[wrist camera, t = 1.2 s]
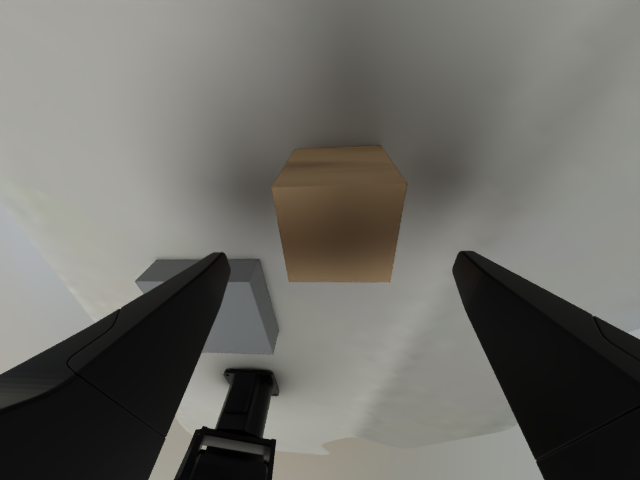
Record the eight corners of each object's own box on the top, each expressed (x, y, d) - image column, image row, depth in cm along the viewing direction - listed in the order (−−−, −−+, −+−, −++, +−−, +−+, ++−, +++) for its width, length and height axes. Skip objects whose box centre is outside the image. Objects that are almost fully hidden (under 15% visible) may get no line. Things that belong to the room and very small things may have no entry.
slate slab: (279, 327, 25) (273, 354, 22) (201, 325, 25) (186, 351, 23) (260, 256, 19) (248, 282, 16) (160, 256, 20) (134, 281, 17)
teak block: (373, 220, 16) (390, 282, 11) (303, 221, 16) (289, 281, 11) (380, 145, 13) (407, 183, 8) (294, 148, 13) (271, 187, 8)
